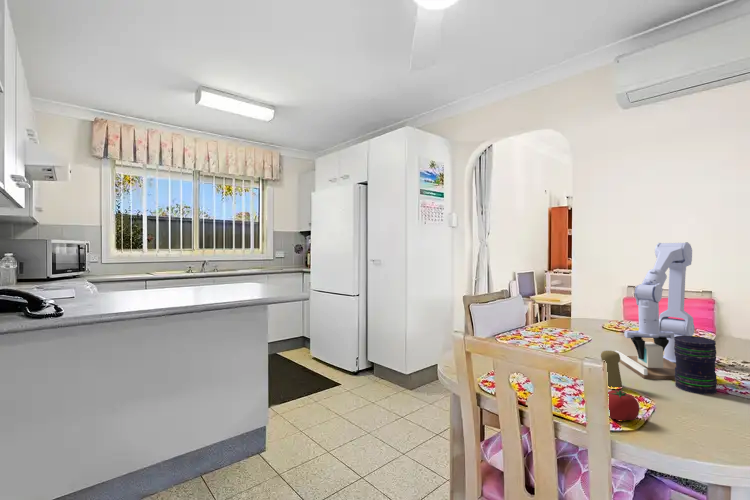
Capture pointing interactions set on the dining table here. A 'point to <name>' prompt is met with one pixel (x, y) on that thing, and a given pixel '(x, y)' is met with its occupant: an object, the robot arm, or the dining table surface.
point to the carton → (652, 355)
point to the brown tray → (646, 372)
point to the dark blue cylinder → (695, 364)
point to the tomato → (622, 406)
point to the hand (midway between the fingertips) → (649, 358)
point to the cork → (612, 368)
